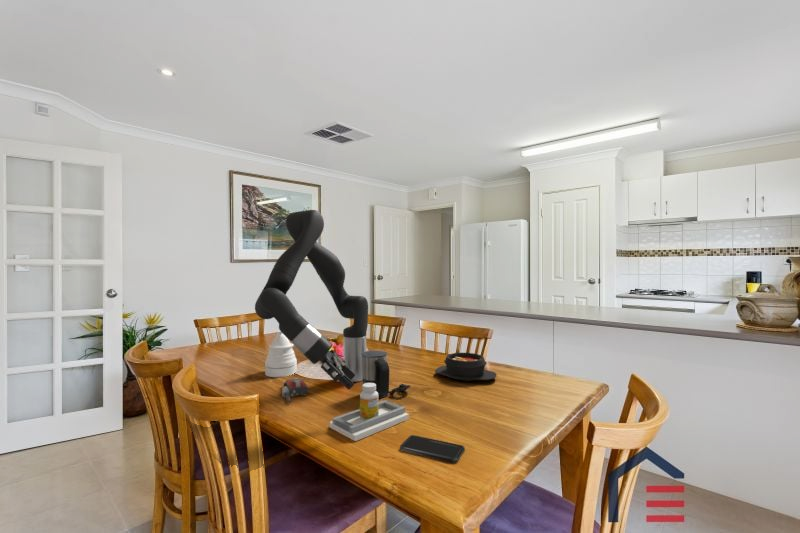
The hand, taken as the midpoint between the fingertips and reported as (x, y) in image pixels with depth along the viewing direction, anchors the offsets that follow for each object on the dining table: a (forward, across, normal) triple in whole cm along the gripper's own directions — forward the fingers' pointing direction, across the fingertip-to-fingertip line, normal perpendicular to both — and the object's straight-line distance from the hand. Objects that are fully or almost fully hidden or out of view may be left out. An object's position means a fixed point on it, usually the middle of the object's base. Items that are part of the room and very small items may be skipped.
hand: (352, 382), depth 111 cm
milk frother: (+16, +24, +1) cm, 29 cm away
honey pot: (-14, +54, +32) cm, 65 cm away
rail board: (+12, 0, +5) cm, 13 cm away
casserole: (+40, +41, -22) cm, 61 cm away
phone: (+24, -17, -6) cm, 30 cm away
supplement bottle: (+11, 0, +4) cm, 12 cm away
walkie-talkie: (-6, +27, +24) cm, 37 cm away
